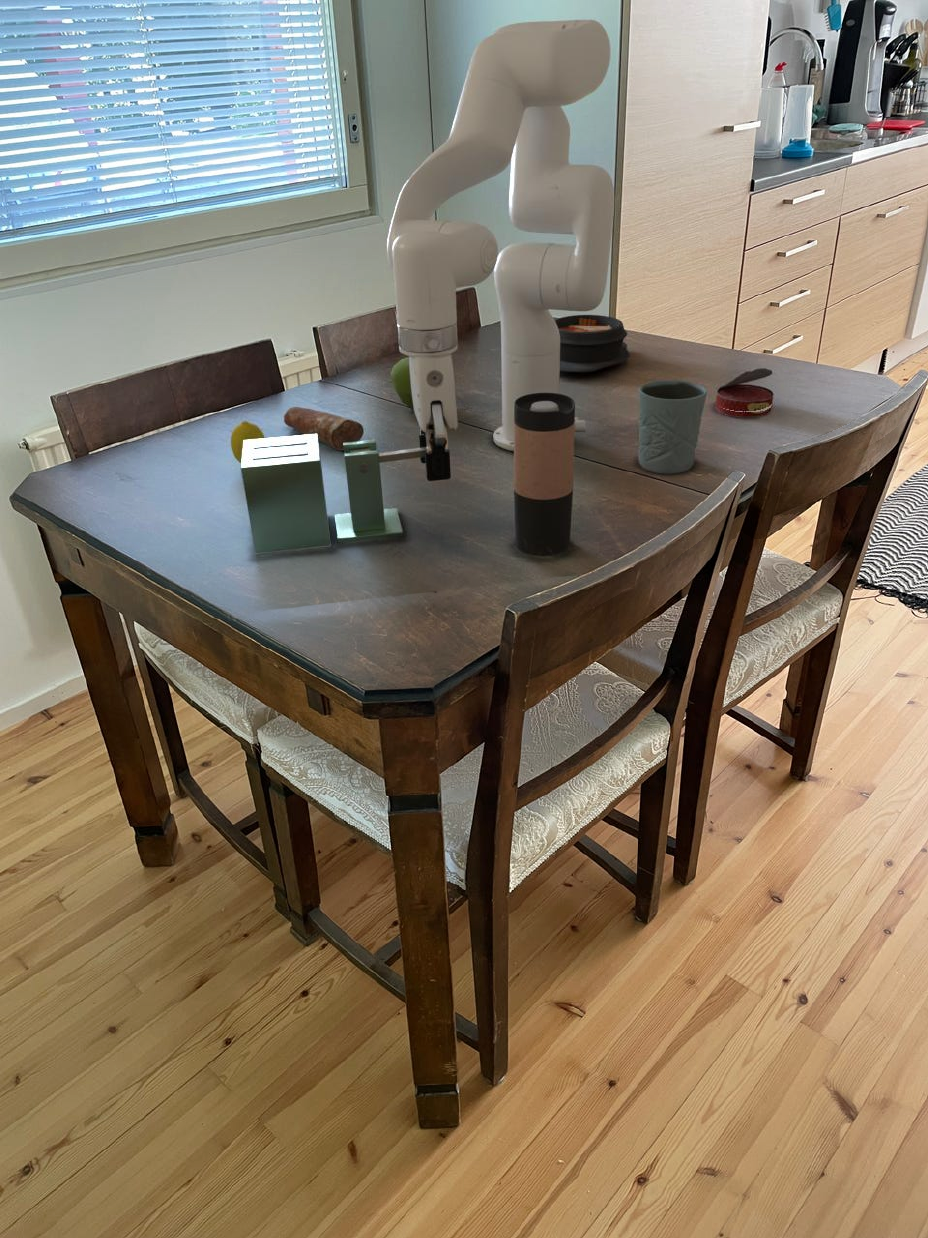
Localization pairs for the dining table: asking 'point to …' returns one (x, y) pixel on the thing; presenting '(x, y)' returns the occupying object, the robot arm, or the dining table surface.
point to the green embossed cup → (669, 424)
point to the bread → (324, 426)
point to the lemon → (244, 437)
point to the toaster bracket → (365, 498)
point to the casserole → (591, 342)
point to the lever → (397, 454)
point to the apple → (402, 381)
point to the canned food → (745, 396)
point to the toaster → (285, 494)
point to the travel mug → (543, 472)
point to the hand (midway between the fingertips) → (435, 469)
